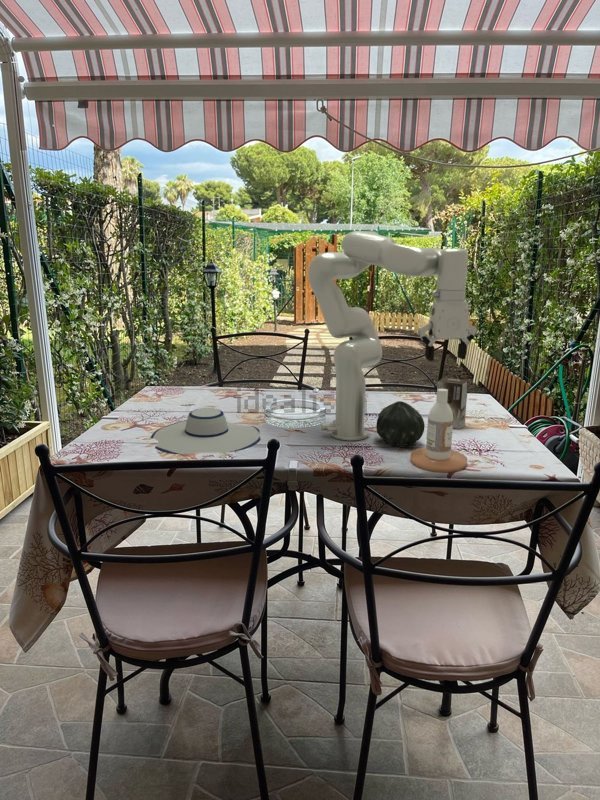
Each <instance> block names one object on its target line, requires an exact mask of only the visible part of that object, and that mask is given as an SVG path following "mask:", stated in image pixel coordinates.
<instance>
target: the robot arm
mask: <svg viewBox="0 0 600 800" xmlns="http://www.w3.org/2000/svg"><path fill="white" fill-rule="evenodd" d="M341 250H342V251H341V252H340V251H339V252H337V251H327V252H321V253H319V254H317V255H316V256H314V257H313V258H312V260H311V261H310V263H309V266H308V270H307V271H308V272H307V273H308V275H307V276H308V282H309V285H310V288H311V291H312V292H313V294H314V296H315V298H316V300H317V303H318V305H319V308H320V312H321V313H322V317H323V319H324V321H325V322H324V324H325V325H326V328H327V330H328V333H329V334H330V336H331V337H332V338H335V339H345V338H352V339H349V340H345V341H342V342H340V343H339V344H338V345H337V346H336V347H335V348H334V351H333V363H334V367H335V420H332V422H331V423H329V424H321V425H320V428H321V431H327V433H329V432H330V436H331V437H332V438H335V439H336V440H341V441H349V442H351V441H361V440H365V439H367V438H368V437H369V433H370V432H369V431H368V429H366V428H365V416H366V415H365V412H366V410H365V409H366V377H365V375H364V373H363V370H362V369H363V368H368V367H372V366H374V365H377V364H378V363H380V361H381V359H382V357H383V347H382V343H381V340H380V338H379V336H378V333H377V330H376V327H375V324H374V323H373V320H372V317H371V316H370V313H368V311H366V310H365V309H364V308H362V307H358V306H354V307H353V306H352V307H349V304H348V303H347V300H346V298H345V295H344V293H343V291H342V289H341V288H340V287H339V286H338V285H337V284H336V283H335V282H334V281H335V280H349V279H354V278H355V277H357V276H359V275H360V274H361V273H362V272H364V271H366V269H367V268H369V267H370V266H371V265H374V266H377V267H380V268H383V269H384V270H385V271H389V272H392V273H394V274H395V273H396V274H399V275H404V276H408V277H411V278H412V277H413V278H414V277H415V278H417V277H435V276H436V278H437V279H436V289H435V291H434V292H433V291H432V293H431V297H432V298H435V300H434V301H433V303H432V306H431V310H430V315H429V320H428V323H427V324H425V325H423V326H421V328H419V329H417V333H418V335H419V339H420V341H422V343H424V345H425V352H424V355H425V359H426V360H428V361H429V362H433V361H434V360H435V346H434V344H435V342H437V340H441V341H443V340H445V341H446V340H449V341H450V340H458V341H459V342H460V343H458V345H457V358H458V359H461V360H466V359H467V358H466V357H467V354H468V353H467V351H468V346H469V345H470V342H472V340H473V339H474V337H475V335H476V333H477V331H478V328H477V327H475V326H473V325H472V324H470V315H469V314H470V312H469V304H468V301H466V288H467V287H466V286H467V276H468V275H467V274H468V263H469V262H468V261H469V253H468V251H467V250H466V249H464V248H444V249H441V248H438V247H413V246H409V245H408V246H407V245H402V244H400V243H399V244H398V243H396V240H394V238H392V237H389V236H385V235H381V234H379V233H378V232H377V231H365V230H363V231H362V230H354V231H350V232H348V233H347V234H346V235H344V237H343V239H342V241H341ZM426 332H428V336H427V335H426Z"/></svg>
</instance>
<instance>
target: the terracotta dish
mask: <svg viewBox="0 0 600 800" xmlns="http://www.w3.org/2000/svg"><path fill="white" fill-rule="evenodd" d="M409 458H410V460H409V461H410V463H411V464H412V465H413V466H415V467H417V468H419V469H422V470H425V471H429V472H436V473H455V472H460V471H462V470H464V469H466V468H467V466H468V458H467V456H466V455H465V454H463V453H462V452H459V451H457V450H454V449H451V455H450V458H449V459H447V460H433V459H430V458H428V457H427V456H426V447H420V448H416V449H415V450H413V451H411V452H410V457H409Z"/></svg>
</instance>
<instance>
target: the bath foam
mask: <svg viewBox="0 0 600 800" xmlns="http://www.w3.org/2000/svg"><path fill="white" fill-rule="evenodd" d="M447 398H448V390H447V389H438V390H437V389H436V400H437V402H435V403H434V404H433V406H432V407H431V408H430V410H429V412H428V417H427V430H426V431H427V432H426V445H425V448H426V456H427V457H428V458H430V459H433V460H447V459H449V458H450V455H451V450H452V443H453V441H452V440H453V430H454V428H453V413H452V410H451V408H450V406H449V405H448V403H447Z"/></svg>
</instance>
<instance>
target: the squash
mask: <svg viewBox="0 0 600 800" xmlns="http://www.w3.org/2000/svg"><path fill="white" fill-rule="evenodd" d="M377 416H378V417H377V419H376V427H375V428H376V433H377V434H378V436H379V437H380V438H381V439H382V440H383V441H385V442H387V444H389V446H392V447H394V446H398V447H400V448H402V447H405V446H409V447H410V446H414V445H415V444H416V443H417V442H418V441H420V440H421V439H422V436H423V435H424V432H425V426H426V425H425V424H426V423H425V421H424V418H423V417H422V415H421V413H420V412H419V411H418V410H416V408H415V407H413V406H412V405H411V404H409V403H407V402H405V401H401V400H398V401H395V402H393V403H391V404H389V405H388V406H386V407H384V408H383V409H381V411H380V412H379V414H378V415H377Z"/></svg>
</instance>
